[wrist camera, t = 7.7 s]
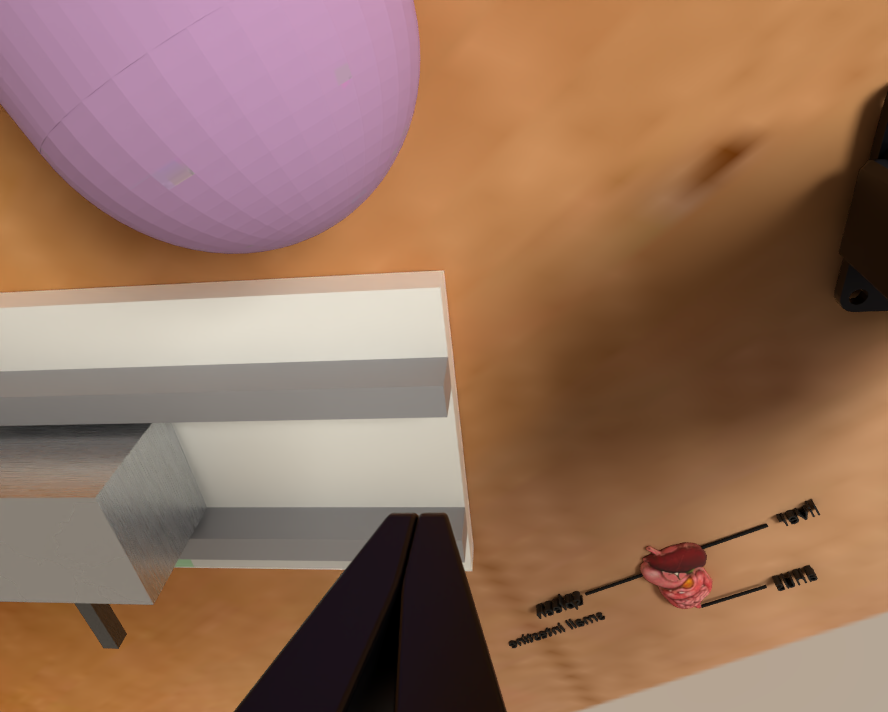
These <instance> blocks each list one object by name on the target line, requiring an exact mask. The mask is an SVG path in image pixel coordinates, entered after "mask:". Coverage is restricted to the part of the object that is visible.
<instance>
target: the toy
mask: <svg viewBox="0 0 888 712" xmlns="http://www.w3.org/2000/svg"><path fill="white" fill-rule="evenodd" d="M419 74H420V41H419V32H418V23H417V17H416V12H415V7H414V1H413V0H0V104H1V105H2V106H3V108H4V109H5V110H6V111H7V113H8V114H9V115H10V116H11V118H12V119H13V120H14V121H15V123H16V124H17V125H18V126H19V128H20V129H21V130H22V131H23V133H24V134H25V135H26V136H27V138H28V139H29V140H30V141H31V143H32V144H33V145H34V146H35V148H36V149H37V150H38V151H39V153H40V154H41V155H42V156H43V157H44V158H45V160H46V161H47V162H48V163H49V164H50V165H51V166H52V168H53V169H54V170H55V171H56V172H57V173H58V174H59V175H60V176H61V177H62V178H63V179H64V180H65V181H66V182H67V183H68V184H69V185H70V186H71V187H72V188H74V189H75V190H76V191H77V192H78V193H80V194H81V195H82V196H83V197H84V198H85V199H87V200H88V201H89V202H91V203H92V204H94V205H95V206H96V207H98V208H99V209H100V210H102V211H103V212H105V213H106V214H108V215H110V216H111V217H113V218H115V219H116V220H118V221H119V222H121V223H123V224H125V225H127V226H129V227H131V228H133V229H135V230H137V231H139V232H141V233H143V234H146V235H148V236H150V237H153V238H155V239H158V240H161V241H164V242H167V243H170V244H173V245H176V246H181V247H185V248H189V249H193V250H199V251H206V252H214V253H227V254H233V253H253V252H263V251H268V250H273V249H278V248H283V247H286V246H290V245H293V244H296V243H299V242H301V241H304V240H306V239H309V238H311V237H314V236H316V235H318V234H320V233H322V232H324V231H325V230H327V229H329V228H331V227H332V226H334V225H335V224H337V223H338V222H340V221H341V220H343V219H344V218H346V217H347V216H348V215H349V214H351V213H352V212H353V211H354V210H355V209H356V208H357V207H359V206H360V205H361V204H362V203H363V202H364V201H365V200H366V199H367V198H368V197H369V196H370V194H371V193H372V192H373V191H374V190H375V189H376V188H377V186H378V185H379V184H380V182H381V181H382V180H383V178H384V177H385V176H386V174H387V172H388V171H389V169H390V167H391V166H392V164H393V163H394V161H395V159H396V157H397V155H398V153H399V151H400V149H401V147H402V145H403V142H404V140H405V137H406V135H407V132H408V130H409V126H410V123H411V120H412V116H413V113H414V108H415V103H416V99H417V93H418V85H419Z"/></svg>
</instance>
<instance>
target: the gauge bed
mask: <svg viewBox="0 0 888 712" xmlns="http://www.w3.org/2000/svg"><path fill="white" fill-rule="evenodd" d="M128 423H172V426H173V428H174V430H175V433H176V435H177V438H178V440H179V442H180V445H181V447H182V449H183V452H184V454H185V457H186V459H187V461H188V464H189V466H190V468H191V471H192V473H193V476H194V478H195V480H196V483H197V485H198V488H199V490H200V492H201V495H202V497H203V499H204V502H205V504H206V507H207V508H206V510H205V512H204V514H203V516H202V517H201V519H200V521H199V523H198V525H197V527H196V528H195V530H194V532H193V534H192V536H191V537H190V539H189V541H188V543H187V545H186V547H185V548H184V550H183V552H182V554H181V556H180V557H179V559H178V561H177V563H176V565H175V567H181V568H260V569H339V570H345V569H346V568H347V566H348V565H349V564H350V563H351V561H352V560H353V559H354V558H355V556H356V555H357V554H358V552H359V551H360V550H361V549H362V547H363V546H364V545H365V543H366V542H367V541H368V540H369V538H370V537H371V536H372V535H373V533H374V532H375V531H376V529H377V528H378V527H379V526H380V524H381V523H382V522H383V521H384V519H385V518H386V517H387V516H388V515H389V514H390V513H393V512H414V513H416V514H418V516H419V515H420V514H421V513H423V512H444V513H446V514H447V515H448V517H449V520H450V523H451V527H452V530H453V533H454V537H455V540H456V544H457V547H458V550H459V554H460V557H461V560H462V564H463V567H464V570H465V571H472V566H473V551H474V546H473V537H472V527H471V518H470V509H469V499H468V490H467V481H466V471H465V462H464V453H463V443H462V434H461V425H460V415H459V406H458V397H457V387H456V378H455V369H454V359H453V350H452V341H451V331H450V322H449V313H448V303H447V294H446V285H445V275H444V270H441V271H421V272H402V273H382V274H362V275H342V276H322V277H303V278H283V279H263V280H243V281H223V282H204V283H184V284H164V285H144V286H124V287H104V288H85V289H65V290H45V291H25V292H5V293H0V426H26V425H77V424H128Z"/></svg>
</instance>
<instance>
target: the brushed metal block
mask: <svg viewBox="0 0 888 712" xmlns="http://www.w3.org/2000/svg"><path fill="white" fill-rule="evenodd" d="M206 508H207V507H206V504H205V502H204V499H203V497H202V495H201V492H200V490H199V488H198V485H197V483H196V480H195V478H194V476H193V473H192V471H191V468H190V466H189V464H188V461H187V459H186V457H185V454H184V452H183V449H182V447H181V445H180V442H179V440H178V438H177V435H176V433H175V430H174V428H173V426H172V423H128V424H77V425H26V426H0V601H2V602H49V603H75V605H76V606H77V608H78V609H79V611H80V613H81V614H82V616H83V617H84V619H85V620H86V622H87V623H88V625H89V626H90V628H91V629H92V631H93V632H94V634H95V636H96V637H97V639H98V640H99V642H100V643H101V645H102V646H103V648H113V649H119V647H120V645H121V643H122V642H123V640H124V638H125V636H126V635H127V633H126V632H125V630H124V628H123V627H122V625H121V623H120V622H119V620H118V619H117V617H116V615H115V614H114V612H113V610H112V609H111V607H110V605H109V604H144V605H154V603H155V601H156V599H157V598H158V596H159V594H160V592H161V590H162V588H163V587H164V585H165V583H166V581H167V579H168V577H169V576H170V574H171V572H172V570H173V568H174V567H175V565H176V563H177V561H178V559H179V557H180V556H181V554H182V552H183V550H184V548H185V547H186V545H187V543H188V541H189V539H190V537H191V536H192V534H193V532H194V530H195V528H196V527H197V525H198V523H199V521H200V519H201V517H202V516H203V514H204V512H205V510H206Z"/></svg>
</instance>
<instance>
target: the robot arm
mask: <svg viewBox="0 0 888 712" xmlns="http://www.w3.org/2000/svg"><path fill="white" fill-rule="evenodd" d="M839 253H840V255H841V256H842V257H843V261H842V265H841V269H840V273H839V276H838V280H837V284H836V288H835V294H834V297H835V299H836V301H837V302H838V303H839V305H840V306H841V307H842V308H843V309H845V310H847V311H851V312H865V311H888V93H887V95H886V97H885V100H884V104H883V108H882V112H881V115H880V119H879V123H878V127H877V131H876V135H875V138H874V142H873V146H872V150H871V154H870V158H869V161H868V162H867V163H866V164H865V165H864V166H863V167H862V168H861V169H860V171H859V174H858V178H857V182H856V186H855V190H854V194H853V198H852V202H851V206H850V210H849V214H848V218H847V221H846V225H845V229H844V233H843V237H842V241H841V245H840V249H839ZM859 289H862V291H861V293H860V294H859V295H858V296H856V297H855V298H851V299H850V298H849V297H850V295H851V293H853V292H854V291H856V290H859ZM234 712H507V711H506V707H505V704H504V700H503V697H502V694H501V690H500V687H499V684H498V680H497V677H496V674H495V670H494V667H493V664H492V660H491V657H490V654H489V650H488V647H487V644H486V640H485V637H484V634H483V630H482V627H481V624H480V620H479V617H478V614H477V610H476V607H475V604H474V600H473V597H472V594H471V590H470V587H469V584H468V580H467V577H466V574H465V570H464V567H463V564H462V560H461V557H460V554H459V550H458V547H457V544H456V540H455V537H454V533H453V530H452V527H451V523H450V520H449V517H448V515H447V514H446V513H444V512H423V513H421V514H420V515H419V516H418V514H416V513H414V512H393V513H390V514H389V515H388V516H387V517H386V518H385V519H384V521H383V522H382V523H381V524H380V526H379V527H378V528H377V529H376V531H375V532H374V533H373V535H372V536H371V537H370V538H369V540H368V541H367V542H366V543H365V545H364V546H363V547H362V549H361V550H360V551H359V552H358V554H357V555H356V556H355V558H354V559H353V560H352V561H351V563H350V564H349V565H348V566H347V568H346V569H345V570H344V572H343V573H342V574H341V575H340V577H339V578H338V579H337V581H336V582H335V583H334V584H333V586H332V587H331V588H330V589H329V591H328V592H327V593H326V595H325V596H324V597H323V598H322V600H321V601H320V602H319V604H318V605H317V606H316V607H315V609H314V610H313V611H312V612H311V614H310V615H309V616H308V618H307V619H306V620H305V621H304V623H303V624H302V625H301V627H300V628H299V629H298V630H297V632H296V633H295V634H294V635H293V637H292V638H291V639H290V641H289V642H288V643H287V644H286V646H285V647H284V648H283V650H282V651H281V652H280V653H279V655H278V656H277V657H276V658H275V660H274V661H273V662H272V664H271V665H270V666H269V667H268V669H267V670H266V671H265V673H264V674H263V675H262V676H261V678H260V679H259V680H258V681H257V683H256V684H255V685H254V687H253V688H252V689H251V690H250V692H249V693H248V694H247V695H246V697H245V698H244V699H243V701H242V702H241V703H240V704H239V706H238V707H237V708H236V710H235V711H234Z"/></svg>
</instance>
